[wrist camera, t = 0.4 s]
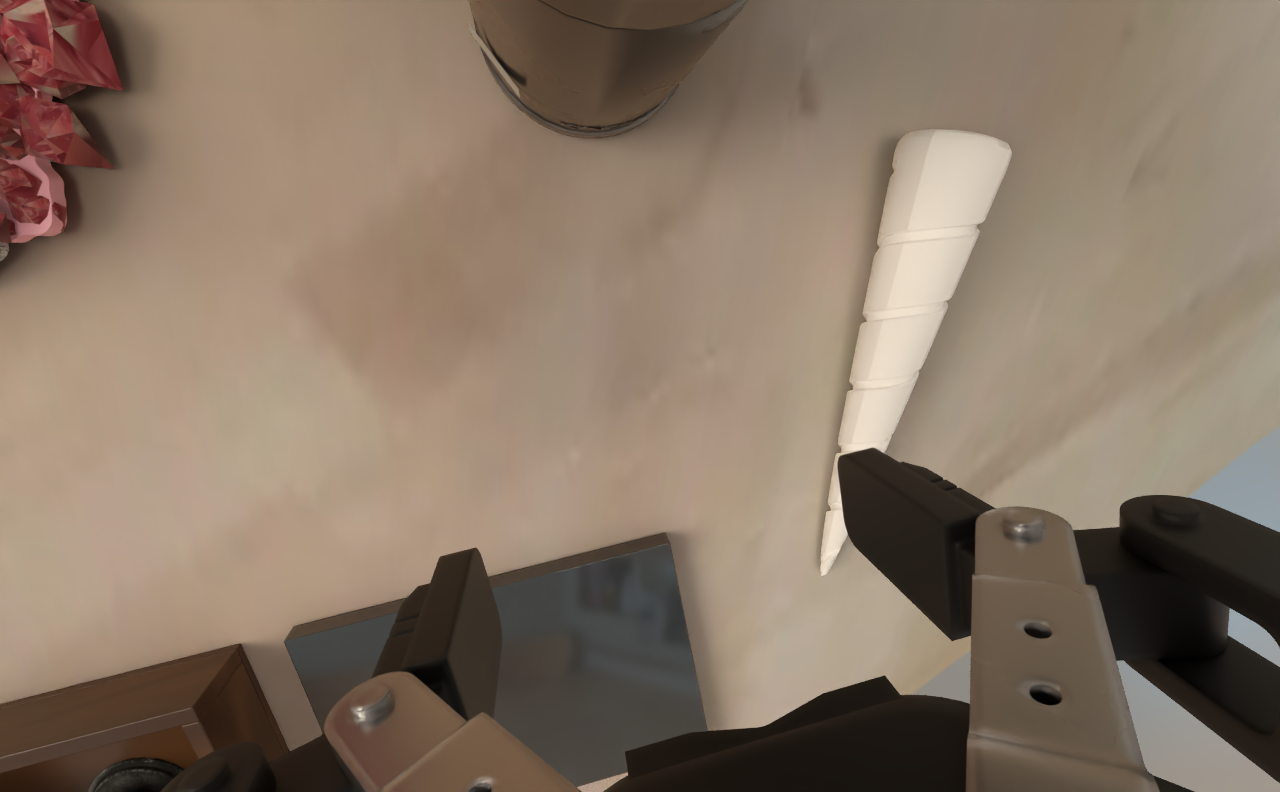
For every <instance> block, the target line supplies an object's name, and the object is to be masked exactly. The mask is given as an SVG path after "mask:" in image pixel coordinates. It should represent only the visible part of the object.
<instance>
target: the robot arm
mask: <svg viewBox="0 0 1280 792" xmlns="http://www.w3.org/2000/svg"><path fill="white" fill-rule="evenodd" d="M748 1H749V0H469V4H470V7H471V10H472V14H473V18H474V23H475V28H476V32H475V31H474V30H473V28H472V27H471V26H470V24H469V23H468V22H467V23H468V26H469V29H470V32H471V34H472V36H473V37H474V38H475V40H476V41H477V42H478V44H479V45H480V47H481V50H482V53H483V55H484V58H485V61H486V63H487V65H488V67H489V69H490V71H491V73H492V75H493V77H494V78H495V80H496V82H497V83H498V85H499V86H500V88H501V89H502V90H503V92H504V93H505V94H506V95H507V97H508V98H509V99H510V100H511V101H512V102H513V103H514V104H515V105H516V106H517V107H518V108H519V109H520V110H521V111H522V112H524V113H525V114H526V115H527V116H529V117H530V118H532V119H533V120H535V121H536V122H538V123H539V124H541V125H543V126H545V127H547V128H549V129H551V130H554V131H556V132H559V133H562V134H566V135H570V136H575V137H583V138H600V137H608V136H612V135H617V134H620V133H623V132H626V131H628V130H630V129H632V128H634V127H637V126H638V125H640V124H641V123H643V122H645V121H646V120H647V119H649V118H650V117H651V116H653V115H654V114H655V113H656V112H657V111H658V110H659V109H660V108H661V107H662V106H663V105H664V104H665V102H666V101H667V100H668V99H669V98H670V97H671V95H672V94H673V92H674V91H675V90H676V88H677V87H678V85H679V83H680V82H681V81H682V79H683V78H684V77H685V76H686V75H687V73H688V72H689V71H690V70H691V69H692V68H693V66H694V65H695V64H696V63H697V62H698V60H699V59H700V58H701V57H702V56H703V54H704V53H705V52H706V51H707V50H708V48H709V47H710V46H711V45H712V44H713V42H714V41H715V40H716V39H717V38H718V36H719V35H720V34H721V33H722V32H723V31H724V29H725V28H726V27H727V26H728V25H729V23H730V22H731V21H732V20H733V19H734V17H735V16H736V15H737V14H738V13H739V11H740V10H741V9H742V8H743V7H744V5H745V4H746V3H747V2H748ZM466 21H467V20H466ZM476 33H477V34H476ZM837 467H838V476H839V484H840V493H841V501H842V509H843V517H844V523H845V527H846V530H847V533H848V535H849V537H850V539H851V541H852V543H853V544H854V546H855V547H856V548H857V549H858V550H859V551H860V552H861V553H862V554H863V555H864V556H865V557H866V558H867V559H868V560H869V561H870V562H871V563H872V564H873V565H874V566H875V567H876V568H877V569H878V570H880V571H881V572H882V573H883V574H884V575H885V576H886V577H887V578H888V579H889V580H890V581H891V582H892V583H893V584H894V585H895V586H896V587H897V588H898V589H899V590H900V591H901V592H902V593H903V594H904V595H905V596H906V597H907V598H908V599H909V600H910V601H911V602H912V603H913V604H915V605H916V606H917V607H918V608H919V609H920V610H921V611H922V612H923V613H924V614H925V615H926V616H927V617H928V618H929V619H930V620H931V621H932V622H933V623H934V624H935V625H936V626H937V627H938V628H939V629H940V630H941V631H942V632H943V633H944V634H945V635H946V636H947V637H948V638H949V639H951V640H952V641H954V640H957V639H961V638H964V637H968V636H971V671H970V672H971V673H970V704H968V703H965V702H962V701H957V700H952V699H948V698H943V697H935V696H927V695H900V694H899V693H898V692H897V690H896V689H895V688H894V687H893V685H892V684H891V683H890V681H889V680H888V679H887V678H886V676H881V677H878V678H875V679H871V680H868V681H864V682H861V683H858V684H854V685H851V686H847V687H844V688H840V689H837V690H834V691H830V692H827V693H823V694H821V695H820V696H818V697H816V698H814V699H813V700H811V701H809V702H807V703H806V704H804V705H802V706H800V707H799V708H797V709H795V710H793V711H792V712H790V713H788V714H786V715H785V716H783V717H781V718H779V719H778V720H776V721H774V722H772V723H770V724H768V725H766V726H763V727H758V728H745V729H731V730H717V731H703V732H690V733H687V734H684V735H680V736H677V737H673V738H670V739H666V740H663V741H660V742H656V743H653V744H649V745H646V746H643V747H639V748H636V749H632V750H629V751H626V752H625V756H626V763H627V770H628V776H626V777H625V778H623V779H621V780H619V781H618V782H616V783H615V784H614V785H612V786H611V787H609V788H608V789H607V790H605V791H604V792H1194V791H1191V790H1189V789H1186V788H1183V787H1181V786H1179V785H1176V784H1174V783H1171V782H1169V781H1166V780H1163V779H1161V778H1158V777H1156V776H1153V775H1152V774H1150V773H1149V772H1148V771H1147V769H1146V767H1145V765H1144V761H1143V758H1142V754H1141V751H1140V747H1139V743H1138V739H1137V736H1136V732H1135V729H1134V725H1133V721H1132V717H1131V714H1130V710H1129V706H1128V702H1127V699H1126V695H1125V691H1124V688H1123V684H1122V680H1121V676H1120V673H1119V669H1118V665H1117V662H1116V661H1118V660H1124V661H1125V662H1126V663H1127V664H1128V665H1129V666H1130V667H1132V668H1133V669H1134V670H1136V671H1137V672H1138V673H1139V674H1141V675H1142V676H1143V677H1145V678H1146V679H1147V680H1148V681H1150V682H1151V683H1152V684H1153V685H1155V686H1156V687H1157V688H1159V689H1160V690H1161V691H1162V692H1164V693H1165V694H1166V695H1168V696H1169V697H1170V698H1171V699H1173V700H1174V701H1175V702H1176V703H1178V704H1179V705H1180V706H1182V707H1183V708H1184V709H1186V710H1187V711H1188V712H1189V713H1191V714H1192V715H1193V716H1194V717H1196V718H1197V719H1198V720H1200V721H1201V722H1202V723H1203V724H1205V725H1206V726H1207V727H1208V728H1210V729H1211V730H1212V731H1214V732H1215V733H1216V734H1217V735H1219V736H1220V737H1221V738H1223V739H1224V740H1225V741H1226V742H1228V743H1229V744H1230V745H1232V746H1233V747H1234V748H1235V749H1237V750H1238V751H1239V752H1240V753H1242V754H1243V755H1244V756H1246V757H1247V758H1248V759H1249V760H1251V761H1252V762H1253V763H1255V764H1256V765H1257V766H1258V767H1260V768H1261V769H1262V770H1264V771H1265V772H1266V773H1268V774H1269V775H1270V776H1271V777H1272V778H1274V779H1275V780H1276V781H1278V782H1279V783H1280V667H1278V666H1277V665H1275V664H1274V663H1272V662H1270V661H1269V660H1267V659H1266V658H1264V657H1262V656H1260V655H1259V654H1257V653H1256V652H1254V651H1252V650H1251V649H1249V648H1248V647H1246V646H1244V645H1243V644H1241V643H1239V642H1238V641H1236V640H1234V639H1233V638H1231V637H1230V636H1228V621H1229V608H1231V609H1233V610H1235V611H1236V612H1238V613H1240V614H1242V615H1243V616H1245V617H1247V618H1249V619H1250V620H1252V621H1254V622H1256V623H1257V624H1259V625H1260V626H1261V627H1263V628H1264V629H1265V630H1267V632H1268V633H1270V635H1271V636H1272V637H1273V638H1274V639H1275V641H1276V642H1277V644H1278V645H1279V647H1280V532H1277V531H1275V530H1272V529H1270V528H1268V527H1265V526H1263V525H1261V524H1258V523H1256V522H1253V521H1251V520H1248V519H1246V518H1244V517H1241V516H1239V515H1237V514H1234V513H1232V512H1230V511H1227V510H1225V509H1222V508H1220V507H1218V506H1215V505H1213V504H1210V503H1207V502H1204V501H1200V500H1196V499H1192V498H1186V497H1180V496H1171V495H1149V496H1141V497H1136V498H1132V499H1130V500H1127V501H1125V502H1124V503H1123V504H1122V505H1121V507H1120V527H1116V528H1102V529H1087V530H1073V529H1072V527H1071V525H1070V524H1069V523H1068V522H1067V521H1066V520H1065V519H1063V518H1062V517H1060V516H1058V515H1056V514H1053V513H1051V512H1048V511H1044V510H1040V509H1036V508H1029V507H1002V508H994V507H992V506H990V505H989V504H987V503H985V502H983V501H982V500H980V499H978V498H977V497H975V496H973V495H971V494H970V493H968V492H966V491H965V490H963V489H961V488H957V486H956V485H954V484H953V483H951V482H949V481H947V480H943V478H942V477H940V476H939V475H937V474H935V473H934V472H932V471H930V470H928V469H927V468H924V467H920V466H916V465H912V464H908V463H905V462H901V463H899V462H898V461H896V460H894V459H893V458H891V457H889V456H888V455H886V454H884V453H883V452H881V451H879V450H878V449H876V448H873V447H872V448H868V449H864V450H860V451H856V452H852V453H848V454H844V455H841V456H840V457H839V458H838V463H837ZM501 648H502V627H501V621H500V616H499V612H498V608H497V605H496V602H495V599H494V595H493V592H492V589H491V586H490V582H489V579H488V576H487V573H486V570H485V566H484V563H483V560H482V557H481V554H480V552H479V550H478V549H477V548H472V549H468V550H464V551H460V552H456V553H452V554H449V555H445V556H441V557H440V558H439V560H438V563H437V566H436V569H435V571H434V574H433V577H432V580H431V583H429V584H425V585H422V586H418V587H417V588H416V589H415V590H414V591H413V592H412V593H411V594H410V596H409V597H408V598H407V599H406V600H405V601H404V602H403V603H402V605H401V607H400V609H399V612H398V614H397V617H396V619H395V624H393V626H392V629H391V631H390V634H389V638H387V641H386V643H385V646H384V648H383V651H382V653H381V655H380V658H379V660H378V663H377V665H376V668H375V670H374V672H373V675H372V677H371V679H369V680H367V681H365V682H363V683H362V684H360V685H358V686H357V687H355V688H354V689H352V690H351V691H350V692H348V693H347V694H346V695H345V696H343V697H342V698H341V699H340V700H339V701H338V702H337V703H336V705H335V706H334V707H333V708H332V709H331V711H330V713H329V714H328V716H327V718H326V721H325V725H324V732H325V734H323V735H322V736H320V737H318V738H316V739H315V740H313V741H311V742H309V743H307V744H305V745H303V746H301V747H299V748H297V749H295V750H293V751H291V752H289V753H287V754H285V755H282V756H280V757H278V758H276V759H274V760H272V761H270V762H268V760H267V758H266V756H265V754H264V752H263V750H262V748H261V746H260V745H258V744H257V743H253V742H240V743H235V744H231V745H228V746H225V747H223V748H220V749H218V750H216V751H213V752H211V753H209V754H208V755H206V756H204V757H202V758H201V759H199V760H197V761H196V762H194V763H193V764H191V765H190V766H188V767H187V768H186V769H184V770H183V771H182V772H180V773H179V774H178V775H177V776H176V777H174V778H173V779H172V780H171V781H170V782H169V783H168V784H167V785H166V786H165V787H164V788H163V789H162V790H161V792H582V791H580V790H579V789H578V788H577V787H575V786H574V785H573V784H572V783H571V782H569V781H568V780H567V779H566V778H564V777H563V776H562V775H561V774H560V773H558V772H557V771H556V770H555V769H553V768H552V767H551V766H550V765H549V764H547V763H546V762H545V761H544V760H543V759H541V758H540V757H539V756H538V755H536V754H535V753H534V752H533V751H532V750H530V749H529V748H528V747H527V746H525V745H524V744H523V743H522V742H521V741H519V740H518V739H517V738H516V737H514V736H513V735H512V734H511V733H510V732H508V731H507V730H506V729H505V728H503V727H502V726H501V725H500V724H499V723H497V722H496V721H495V720H494V719H493V717H494V708H495V699H496V691H497V682H498V674H499V665H500V657H501Z"/></svg>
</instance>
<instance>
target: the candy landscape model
mask: <svg viewBox="0 0 1280 792" xmlns="http://www.w3.org/2000/svg"><path fill="white" fill-rule="evenodd" d="M87 85H92V86H98V87H104V88H110V89H116V90H122V91H123V88H122V85H121V82H120V79H119V76H118V73H117V70H116V68H115V65H114V62H113V59H112V56H111V53H110V50H109V47H108V44H107V41H106V38H105V35H104V33H103V30H102V27H101V24H100V21H99V18H98V15H97V12H96V9H95V6H94V4H91V3H85V2H79V0H0V261H2V260H3V259H4V258H5V257H6V256H7V254H8V251H9V245H8V243H12V242H13V243H24V242H28V241H29V240H31V239H32V238H34V237H36V236H55V235H57V234H59V233H60V232H61V231H64V232H65V226H66V223H67V216H66V211H67V208H66V199H65V195H64V182H63V179H62V178H61V177H60V175H59V174H58V173H57V172H56V171H55V170H54V169H53V168H52V166H51V161H53V162H57V163H60V164H66V165H77V166H87V167H98V168H109V169H115V168H114V167H113V166H112V164H111V163H110V162H109V160H108V159H107V158H106V156H105V155H104V153H103V152H102V151H101V149H100V148H99V147H98V145H97V144H96V143H95V141H94V140H93V139H92V137H91V136H90V134H89V133H88V132H87V130H86V129H85V128H84V126H83V125H82V124H81V122H80V121H79V120H78V118H77V117H76V115H75V114H74V113H73V111H72V110H71V109H70V107H69V106H68V105H66V104H61V103H57V102H52V96H56V97H58V98H61V99H64V98H66V97H68V96H70V95H72V94H74V93H76V92H78V91H80V90H83V89H85V88H87Z"/></svg>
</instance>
